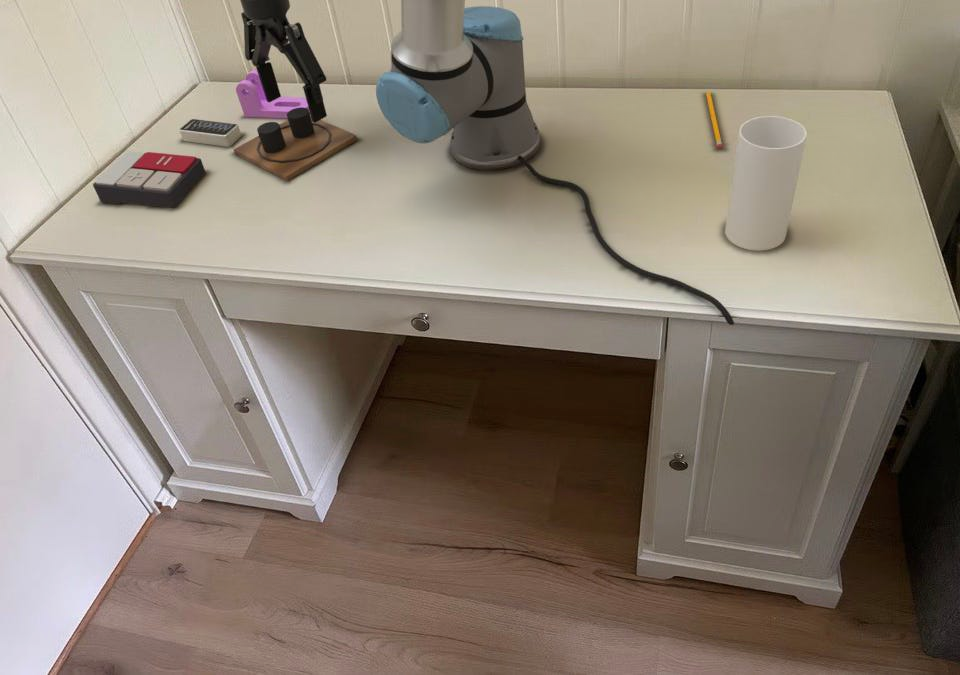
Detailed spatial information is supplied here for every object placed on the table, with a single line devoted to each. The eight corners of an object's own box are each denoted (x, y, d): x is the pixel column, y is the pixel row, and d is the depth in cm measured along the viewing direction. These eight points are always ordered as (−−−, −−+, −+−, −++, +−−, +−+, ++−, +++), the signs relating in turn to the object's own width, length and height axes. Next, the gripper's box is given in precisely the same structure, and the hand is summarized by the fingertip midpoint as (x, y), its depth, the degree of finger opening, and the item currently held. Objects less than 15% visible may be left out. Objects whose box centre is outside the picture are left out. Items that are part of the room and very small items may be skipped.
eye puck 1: (290, 145, 141) (284, 125, 138) (272, 155, 139) (265, 135, 136) (277, 139, 143) (270, 119, 140) (259, 149, 141) (252, 129, 138)
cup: (749, 257, 108) (767, 155, 96) (713, 227, 113) (725, 127, 102) (798, 238, 109) (821, 136, 98) (760, 209, 115) (778, 109, 104)
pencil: (717, 149, 128) (717, 145, 127) (705, 95, 140) (706, 91, 140) (722, 149, 127) (722, 145, 127) (710, 95, 140) (710, 91, 140)
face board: (357, 140, 142) (355, 134, 141) (287, 181, 134) (285, 175, 133) (303, 116, 151) (301, 110, 150) (234, 154, 143) (232, 148, 142)
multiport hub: (229, 147, 145) (225, 136, 143) (182, 140, 149) (177, 129, 147) (242, 135, 148) (238, 123, 146) (196, 129, 151) (191, 118, 150)
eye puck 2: (318, 130, 144) (313, 111, 141) (301, 140, 142) (295, 120, 139) (305, 124, 146) (299, 105, 143) (288, 134, 144) (282, 114, 141)
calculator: (167, 189, 129) (89, 181, 132) (176, 211, 132) (99, 202, 135) (200, 154, 137) (125, 146, 140) (207, 175, 140) (134, 167, 143)
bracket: (244, 116, 153) (233, 83, 148) (257, 102, 157) (246, 69, 152) (305, 118, 150) (295, 84, 145) (316, 104, 154) (307, 70, 149)
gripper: (327, -7, 121) (356, 118, 136) (236, -33, 135) (272, 83, 149) (289, 11, 117) (323, 137, 132) (199, -18, 131) (239, 99, 146)
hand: (296, 108), depth 141 cm, fingers open, 13 cm apart
